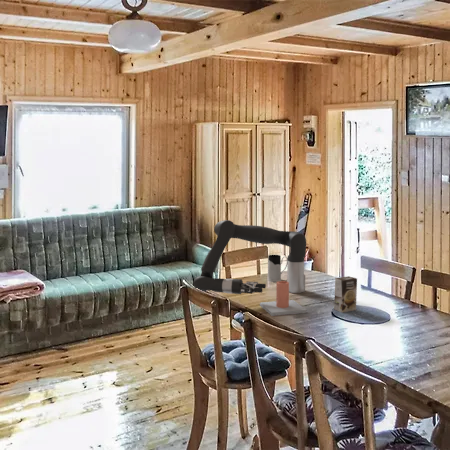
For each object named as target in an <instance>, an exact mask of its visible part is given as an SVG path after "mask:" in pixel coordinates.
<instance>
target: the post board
mask: <svg viewBox="0 0 450 450" xmlns="http://www.w3.org/2000/svg"><path fill="white" fill-rule="evenodd" d="M259 307H261V308H262V309H263V310H265V312H266V313H268V314H269V315H270V316H272V317H274V316H283V315H285V316H286V315H287V316H288V315H294V314H296V315H297V314H305V313H308V309H307V308H305V307H304V306H302V305H301V304H300V303H298V302H297V301H295V300H294V299H289V307H287V308H279V307H277V306H276V300H274V301H265V302H264V301H262V302H259Z"/></svg>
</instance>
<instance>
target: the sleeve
mask: <svg viewBox="0 0 450 450" xmlns="http://www.w3.org/2000/svg"><path fill="white" fill-rule="evenodd" d="M275 283H276V286H275V287H276V293H275V294H276V296H275V297H276V300H275V301H276V306H277V307H279V308H287V307H289V300H290V292H289V282H287V280H286V281H285V280H282V281H278V282H275Z"/></svg>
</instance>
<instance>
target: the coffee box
mask: <svg viewBox="0 0 450 450" xmlns="http://www.w3.org/2000/svg"><path fill="white" fill-rule="evenodd" d="M357 287H358V278H356V277H354V276H353V277H352V276H341V277H336V278H334V305H333V309H334V310H335V311H337V312H339V313H347V312H348V313H349V312H352V311H357V294H358V292H357V291H358V290H357V289H358V288H357Z"/></svg>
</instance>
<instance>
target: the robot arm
mask: <svg viewBox="0 0 450 450" xmlns="http://www.w3.org/2000/svg"><path fill="white" fill-rule="evenodd" d="M213 228H214V229H213V230H214V231H213V232H214V233H215V235H216V236H217V237H216V239H215V242H214V244H213V245H212V247H211V248H210V250H209V251H208V253H207V255H206V256H205V258H204V261H203V263H202V266H201V269H200V271H201V273H200V276H196V277H195V278H194V280H193V283H192V285H193V287H194V289H196V288H198V289H200V290H202V291H205V292H207V291H212V292H215V293H222V294H223V293H224V294H233V295H241V294H250V295H252V294H255V293H261V294H262V293H263V289H266V287H267V285H266V283H259V282H258V281H246V282H245V283H244V281H243V280H242V279H241V278H219V277H218V278H216V277H215V278H214V273H215V271H216V269H217V267H218V264H219V262H220V260H221V257H222V255H223V252H224V250H225V249H226V247H227V245H228V243H229V242H230V240H231V239H237V240H238V239H239V240H242V241H246V242H251V243H256V244H261V245H273V244H278V245H283V246H285V247H286V246H287V247H289V248H290V252H289V254H288V255H287V258H288V262H287V261H286V264H287V267H286V269H287V272H286V273H287V274H286V275H287V280H286V281H287V282H289V293H291V294H300V293H305V292H306V274H305V257H306V256H307V255H306V253H307V239H306V236H305V235H304V234H303V233H301V232H298V231H295V230H294V231H289V230H288V231H287V230H277V229H274V228H271V227H268V226H261V225H253V224H252V225H250V224H249V225H248V224H247V225H244V224H243V225H242V224H235V223H234V222H233V221H232V220H230V219H229V220H228V219H227V220H226V219H225V220H220V221H218V222H217V223H216V224H215V225H214V227H213Z"/></svg>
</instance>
